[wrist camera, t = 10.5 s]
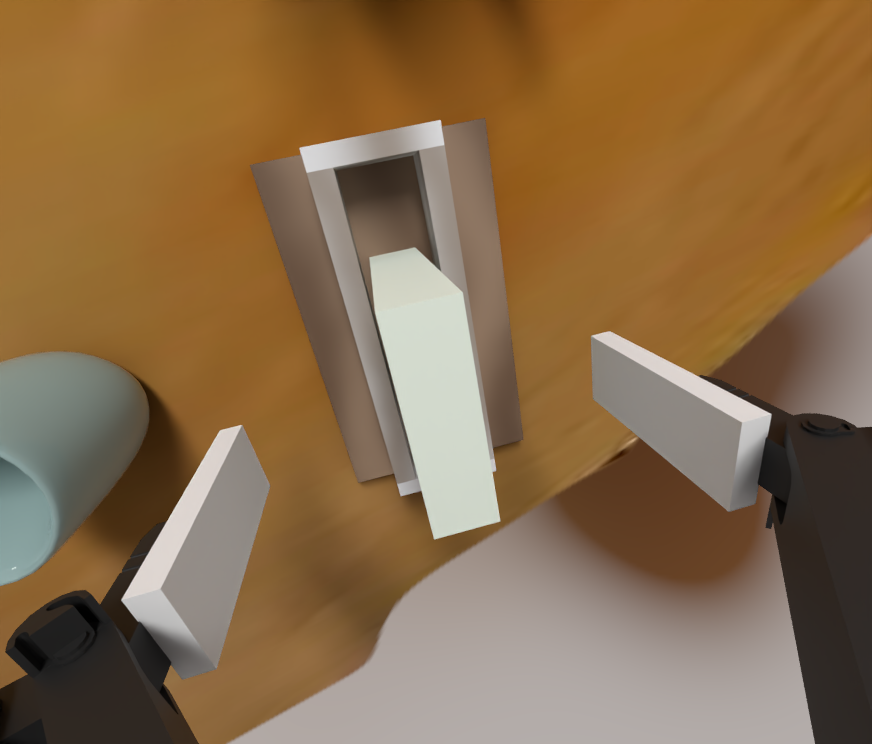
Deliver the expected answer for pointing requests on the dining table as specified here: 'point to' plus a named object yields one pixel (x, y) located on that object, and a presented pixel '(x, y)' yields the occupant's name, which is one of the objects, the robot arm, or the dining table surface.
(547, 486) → the dining table surface
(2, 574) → the cup
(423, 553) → the dining table surface
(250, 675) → the dining table surface
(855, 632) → the robot arm
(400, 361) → the pale rectangular block
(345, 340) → the track
